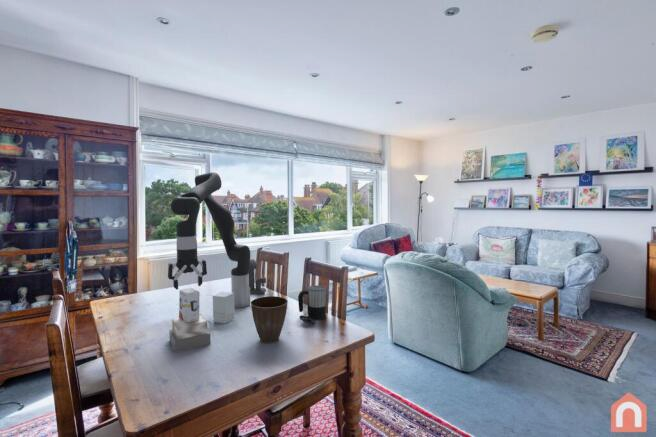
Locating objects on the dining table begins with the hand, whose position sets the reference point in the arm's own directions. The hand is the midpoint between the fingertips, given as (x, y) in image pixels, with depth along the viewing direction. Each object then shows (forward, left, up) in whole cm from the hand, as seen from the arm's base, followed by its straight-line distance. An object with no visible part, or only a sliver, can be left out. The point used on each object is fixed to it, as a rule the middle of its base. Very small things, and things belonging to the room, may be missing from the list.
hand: (188, 287), depth 133 cm
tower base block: (0, 0, -23) cm, 23 cm away
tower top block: (0, +1, -18) cm, 18 cm away
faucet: (-49, -58, -23) cm, 79 cm away
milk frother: (-54, +7, -23) cm, 60 cm away
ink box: (0, 0, -13) cm, 13 cm away
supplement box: (-19, -17, -23) cm, 34 cm away
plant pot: (-28, +16, -23) cm, 39 cm away
